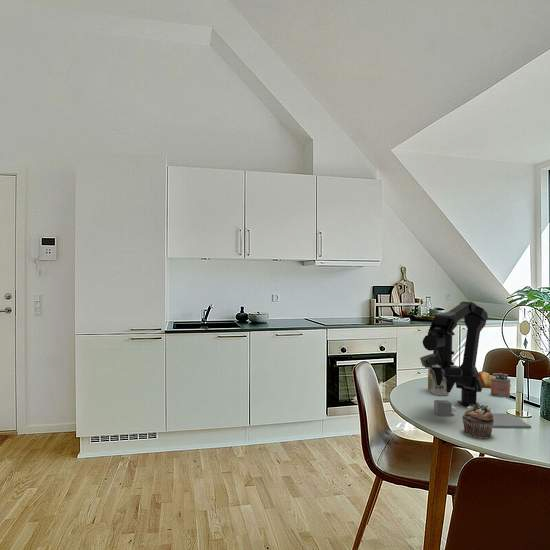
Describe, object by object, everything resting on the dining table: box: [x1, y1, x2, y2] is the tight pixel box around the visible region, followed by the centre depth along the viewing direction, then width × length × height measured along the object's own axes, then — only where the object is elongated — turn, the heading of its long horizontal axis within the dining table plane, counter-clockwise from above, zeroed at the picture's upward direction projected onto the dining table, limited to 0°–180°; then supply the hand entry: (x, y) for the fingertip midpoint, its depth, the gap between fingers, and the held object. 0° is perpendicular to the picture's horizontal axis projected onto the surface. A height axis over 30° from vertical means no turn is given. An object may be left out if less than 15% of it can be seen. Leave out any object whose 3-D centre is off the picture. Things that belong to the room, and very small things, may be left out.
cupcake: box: [461, 402, 494, 439], centre depth 143 cm, size 10×10×10 cm
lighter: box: [490, 372, 511, 398], centre depth 189 cm, size 8×3×10 cm, turn 84°
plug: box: [433, 399, 457, 417], centre depth 162 cm, size 4×7×5 cm, turn 91°
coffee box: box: [427, 368, 449, 396], centre depth 193 cm, size 9×6×16 cm
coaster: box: [491, 412, 532, 429], centre depth 156 cm, size 13×13×1 cm
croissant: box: [478, 371, 512, 389], centre depth 206 cm, size 21×10×8 cm, turn 59°
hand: (443, 388), depth 162 cm, fingers open, 9 cm apart
